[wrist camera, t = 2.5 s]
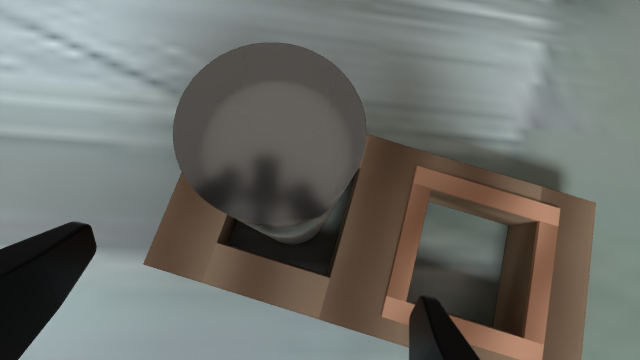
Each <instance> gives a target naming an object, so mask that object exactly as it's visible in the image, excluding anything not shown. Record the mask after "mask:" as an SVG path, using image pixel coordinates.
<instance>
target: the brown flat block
mask: <svg viewBox="0 0 640 360" xmlns="http://www.w3.org/2000/svg"><path fill="white" fill-rule="evenodd" d="M353 179H354V181H353V184H352V188H351V191H350V195H349V198H348V202H347V205H346V209H345V212H344V216H343V219H342V223H341V227H340V230H339V234H338V237H337V241H336V244H335V248H334V251H333V255H332V258H331V262H330V265H329V269H328V272H327V275H324V274H321V273H318V272H315V271H311V270H308V269H305V268H302V267H299V266H295V265H292V264H289V263H286V262H282V261H279V260H276V259H273V258H270V257H266V256H263V255H260V254H257V253H253V252H250V251H247V250H244V249H240V248H237V247H234V246H231V245H228V243H229V240H230V238H231V235H232V232H233V229H234V227H235V224H236V221H237V219H235V218H233V217H231V216H229V215H227V214H226V213H224V212H222V211H220V210H218V209H216V208H215V207H213V206H212V205H210V204H209V203H208V202H206V201H205V200H204V199H203V198H202V197H201V196H200V195H199V194H198V193H197V192H196V191H195V190H194V189H193V188H192V187H191V185H190V184H189V183H188V181H187V180H186V178H185V176H184V174H183V173H181V175H180V178H179V180H178V182H177V185H176V187H175V190H174V192H173V194H172V197H171V199H170V202H169V204H168V206H167V209H166V211H165V213H164V216H163V218H162V221H161V223H160V225H159V228H158V230H157V233H156V235H155V237H154V240H153V242H152V245H151V247H150V249H149V252H148V254H147V256H146V259H145V261H144V265H147V266H150V267H153V268H157V269H160V270H163V271H166V272H169V273H173V274H176V275H179V276H182V277H185V278H189V279H192V280H195V281H198V282H201V283H204V284H208V285H211V286H214V287H217V288H220V289H224V290H227V291H230V292H233V293H236V294H240V295H243V296H246V297H249V298H252V299H256V300H259V301H262V302H265V303H268V304H271V305H275V306H278V307H281V308H284V309H287V310H291V311H294V312H297V313H300V314H303V315H307V316H310V317H313V318H316V319H319V320H323V321H326V322H329V323H332V324H335V325H338V326H342V327H345V328H348V329H351V330H354V331H358V332H361V333H364V334H367V335H370V336H374V337H377V338H380V339H383V340H386V341H390V342H393V343H396V344H399V345H402V346H405V347H409V318H410V314H411V312H412V310H413V308H414V306H415V304H416V303H415V302H411V301H408V300H407V296H408V291H409V287H410V282H411V277H412V273H413V268H414V264H415V259H416V255H417V250H418V246H419V241H420V237H421V232H422V228H423V223H424V219H425V214H426V210H427V205H428V201H429V202H432V203H436V204H439V205H442V206H446V207H449V208H452V209H456V210H459V211H462V212H466V213H469V214H472V215H475V216H479V217H482V218H485V219H489V220H492V221H495V222H499V223H502V224H505V225H509V227H508V233H507V240H506V246H505V252H504V259H503V265H502V271H501V278H500V284H499V290H498V297H497V303H496V309H495V316H494V322H493V327H492V326H489V325H486V324H482V323H479V322H476V321H473V320H469V319H466V318H463V317H460V316H457V315H453V314H450V313H447V314H448V315H449V316H450V318H451V319H452V321H453V322H454V323H455V325H456V326H457V328H458V329H459V330H460V332H461V333H462V335H463V336H464V337H465V339H466V340H467V342H468V343H469V344H470V346H471V347H472V349H473V350H474V351H475V353H476V354H477V356H478V357H479V358H480V360H581V357H582V346H583V336H584V325H585V314H586V304H587V293H588V282H589V272H590V261H591V250H592V240H593V229H594V218H595V208H596V203H595V202H592V201H588V200H585V199H582V198H578V197H575V196H572V195H568V194H565V193H562V192H558V191H555V190H552V189H548V188H545V187H542V186H538V185H535V184H532V183H528V182H525V181H522V180H518V179H515V178H511V177H508V176H505V175H501V174H498V173H495V172H491V171H488V170H485V169H481V168H478V167H475V166H471V165H468V164H465V163H461V162H458V161H455V160H451V159H448V158H445V157H441V156H438V155H435V154H431V153H428V152H425V151H421V150H418V149H415V148H411V147H408V146H404V145H401V144H398V143H394V142H391V141H388V140H384V139H381V138H378V137H374V136H371V135H368V134H366V143H365V148H364V153H363V156H362V159H361V162H360V164H359V167H358V169H357V170H356V172H355V174H354V176H353Z"/></svg>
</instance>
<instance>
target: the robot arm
mask: <svg viewBox="0 0 640 360" xmlns="http://www.w3.org/2000/svg"><path fill="white" fill-rule="evenodd" d="M96 247H97V246H96V242H95V238H94V234H93V231H92V228H91V226H90V225H89V224H85V223H80V222H70V223H67V224H64V225H62V226H59V227H56V228H54V229H51V230H49V231H46V232H43V233H41V234H38V235H36V236H33V237H31V238H28V239H25V240H23V241H20V242H18V243H15V244H12V245H10V246H7V247H5V248H2V249H0V360H18V359H19V358H20V357H21V355H22V354H23V353H24V352H25V350H26V349H27V348H28V347H29V345H30V344H31V343H32V342H33V340H34V339H35V338H36V337H37V335H38V334H39V333H40V332H41V330H42V329H43V328H44V327H45V325H46V324H47V323H48V322H49V320H50V319H51V318H52V317H53V315H54V314H55V313H56V311H57V310H58V309H59V308H60V306H61V305H62V303H63V302H64V300H65V299H66V298H67V296H68V295H69V293H70V291H71V290H72V288H73V287H74V285H75V284H76V282H77V281H78V279H79V278H80V276H81V275H82V273H83V272H84V270H85V269H86V267H87V265H88V264H89V262H90V261H91V259H92V258H93V256H94V254H95V252H96ZM409 360H480V358H479V357H478V356H477V354H476V353H475V351H474V350H473V349H472V347H471V346H470V344H469V343H468V342H467V340H466V339H465V337H464V336H463V335H462V333H461V332H460V330H459V329H458V328H457V326H456V325H455V323H454V322H453V321H452V319H451V318H450V316H449V315H448V314H447V312H446V311H445V309H444V308H443V307H442V305H441V304H440V302H439V301H438V300H437V299H435V298H432V297H428V296H420V297H419V299H418V301H417V302H416V304H415V306H414V308H413V310H412V312H411V314H410V318H409Z"/></svg>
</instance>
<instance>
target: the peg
mask: <svg viewBox="0 0 640 360" xmlns="http://www.w3.org/2000/svg"><path fill="white" fill-rule="evenodd" d="M173 142H174V149H175V154H176V158H177V161H178V163H179V166H180V169H181V171H182V173H183V174H184V176H185V178H186V180H187V181H188V183H189V184H190V185H191V187H192V188H193V189H194V190H195V191H196V192H197V193H198V194H199V195H200V196H201V197H202V198H203V199H204V200H205V201H206V202H208V203H209V204H210V205H212V206H213V207H215V208H216V209H218V210H220V211H222V212H224V213H226V214H227V215H229V216H231V217H233V218H235V219H237V220H239V221H241V222H243V223H244V224H246V225H248V226H250V227H252V228H254V229H256V230H258V231H260V232H261V233H263V234H265V235H267V236H269V237H271V238H273V239H275V240H277V241H279V242H281V243H284V244H291V245H292V244H301V243H304V242H306V241H308V240H310V239H312V238H313V237H314V236H315V235H316V234H317V233H318V232H319V231H320V230H321V228H322V226H323V225H324V223H325V222H326V220H327V218H328V217H329V215H330V214H331V212H332V210H333V209H334V207H335V205H336V204H337V202H338V201H339V199H340V197H341V196H342V194H343V192H344V191H345V189H346V188H347V186H348V184H349V183H350V181H351V180H352V178H353V176H354V174H355V172H356V170H357V169H358V167H359V164H360V162H361V159H362V156H363V153H364V148H365V143H366V119H365V115H364V110H363V106H362V104H361V101H360V98H359V96H358V94H357V92H356V90H355V88H354V87H353V85H352V84H351V82H350V81H349V79H348V78H347V77H346V76H345V75H344V74H343V73H342V71H341V70H340V69H339V68H337V67H336V66H335V65H334V64H333V63H332V62H330V61H329V60H327V59H326V58H324V57H323V56H321V55H319V54H317V53H315V52H313V51H311V50H308V49H305V48H302V47H300V46H295V45H291V44H284V43H258V44H251V45H247V46H243V47H240V48H237V49H234V50H231V51H229V52H227V53H225V54H223V55H221V56H219V57H218V58H216V59H215V60H213V61H212V62H210V63H209V64H208V65H207V66H205V67H204V68H203V69H202V70H201V71H200V72H199V73H198V74H197V75H196V76H195V77H194V78H193V80H192V81H191V82H190V84H189V85H188V87H187V88H186V90H185V91H184V93H183V95H182V97H181V99H180V102H179V104H178V107H177V110H176V114H175V119H174V126H173Z"/></svg>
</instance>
